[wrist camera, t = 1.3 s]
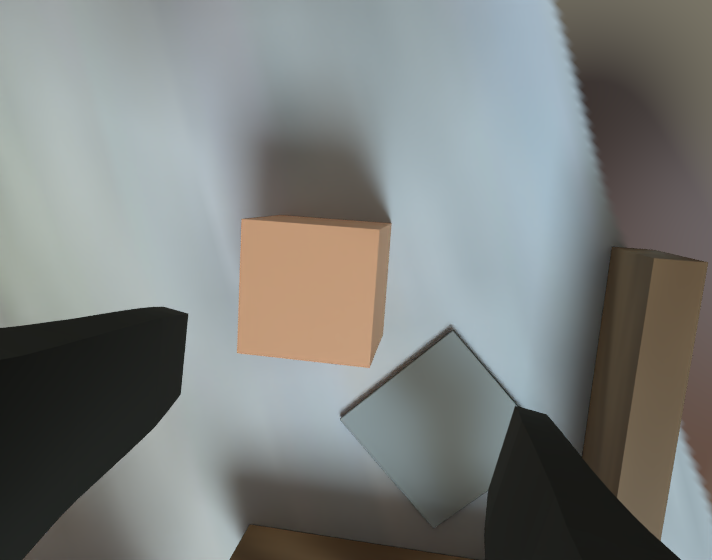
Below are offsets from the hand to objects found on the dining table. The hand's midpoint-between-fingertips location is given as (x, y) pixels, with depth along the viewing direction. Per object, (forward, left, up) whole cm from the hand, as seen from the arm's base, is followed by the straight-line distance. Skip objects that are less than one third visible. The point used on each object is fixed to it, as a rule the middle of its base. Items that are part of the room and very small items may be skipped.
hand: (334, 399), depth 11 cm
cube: (-2, +1, -11) cm, 11 cm away
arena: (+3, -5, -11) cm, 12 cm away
